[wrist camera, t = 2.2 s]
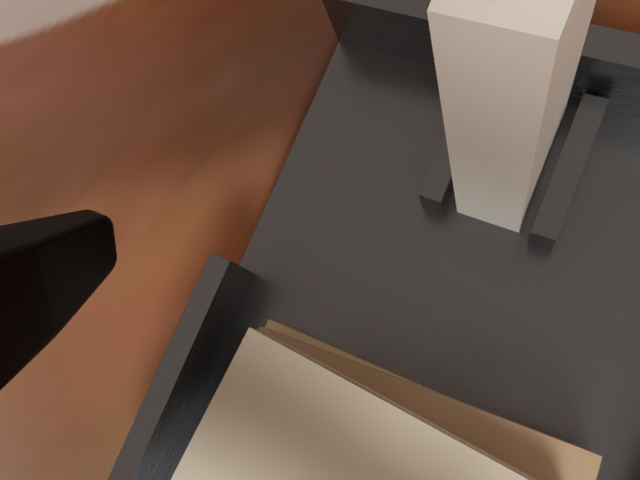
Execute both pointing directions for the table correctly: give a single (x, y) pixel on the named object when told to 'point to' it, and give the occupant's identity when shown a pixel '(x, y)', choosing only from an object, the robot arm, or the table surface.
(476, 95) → the cream rectangular block
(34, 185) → the table surface
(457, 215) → the rack
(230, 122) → the table surface
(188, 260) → the table surface
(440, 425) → the offcut stack
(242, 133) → the table surface
